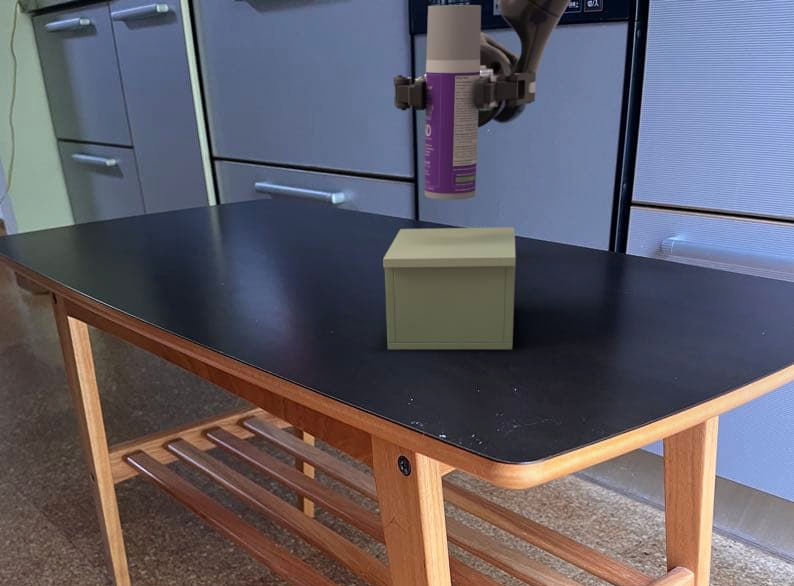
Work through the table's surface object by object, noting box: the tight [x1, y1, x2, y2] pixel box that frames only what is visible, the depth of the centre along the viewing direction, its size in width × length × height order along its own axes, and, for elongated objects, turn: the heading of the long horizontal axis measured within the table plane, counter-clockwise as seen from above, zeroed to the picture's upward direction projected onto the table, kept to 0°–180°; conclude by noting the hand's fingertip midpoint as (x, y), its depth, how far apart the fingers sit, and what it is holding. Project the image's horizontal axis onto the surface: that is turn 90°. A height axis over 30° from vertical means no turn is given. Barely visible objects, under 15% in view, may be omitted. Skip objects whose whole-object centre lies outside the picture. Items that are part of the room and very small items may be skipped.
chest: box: [384, 265, 516, 350], centre depth 85 cm, size 14×12×8 cm
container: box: [424, 4, 482, 201], centre depth 77 cm, size 5×5×15 cm
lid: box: [382, 226, 517, 269], centre depth 83 cm, size 14×12×1 cm
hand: (448, 95), depth 75 cm, fingers closed on container, 4 cm apart
